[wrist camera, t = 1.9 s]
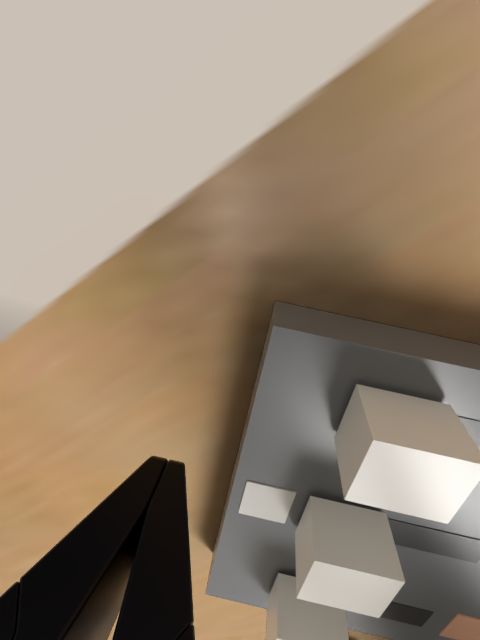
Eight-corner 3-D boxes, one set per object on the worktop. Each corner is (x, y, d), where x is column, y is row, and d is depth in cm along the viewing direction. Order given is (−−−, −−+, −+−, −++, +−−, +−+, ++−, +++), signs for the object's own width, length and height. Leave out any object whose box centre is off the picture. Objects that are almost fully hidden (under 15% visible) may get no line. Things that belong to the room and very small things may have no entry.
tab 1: (342, 588, 16) (351, 656, 14) (327, 613, 17) (333, 680, 15) (278, 572, 16) (277, 638, 14) (267, 599, 17) (264, 663, 15)
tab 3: (450, 404, 11) (490, 466, 9) (419, 457, 12) (448, 523, 10) (356, 384, 11) (373, 440, 9) (333, 438, 12) (343, 500, 10)
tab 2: (386, 513, 13) (405, 582, 11) (365, 549, 14) (379, 618, 12) (310, 495, 13) (314, 560, 11) (294, 532, 15) (296, 598, 12)
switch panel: (668, 385, 12) (736, 427, 10) (457, 612, 19) (475, 661, 17) (275, 300, 12) (273, 326, 11) (212, 554, 20) (205, 595, 18)
